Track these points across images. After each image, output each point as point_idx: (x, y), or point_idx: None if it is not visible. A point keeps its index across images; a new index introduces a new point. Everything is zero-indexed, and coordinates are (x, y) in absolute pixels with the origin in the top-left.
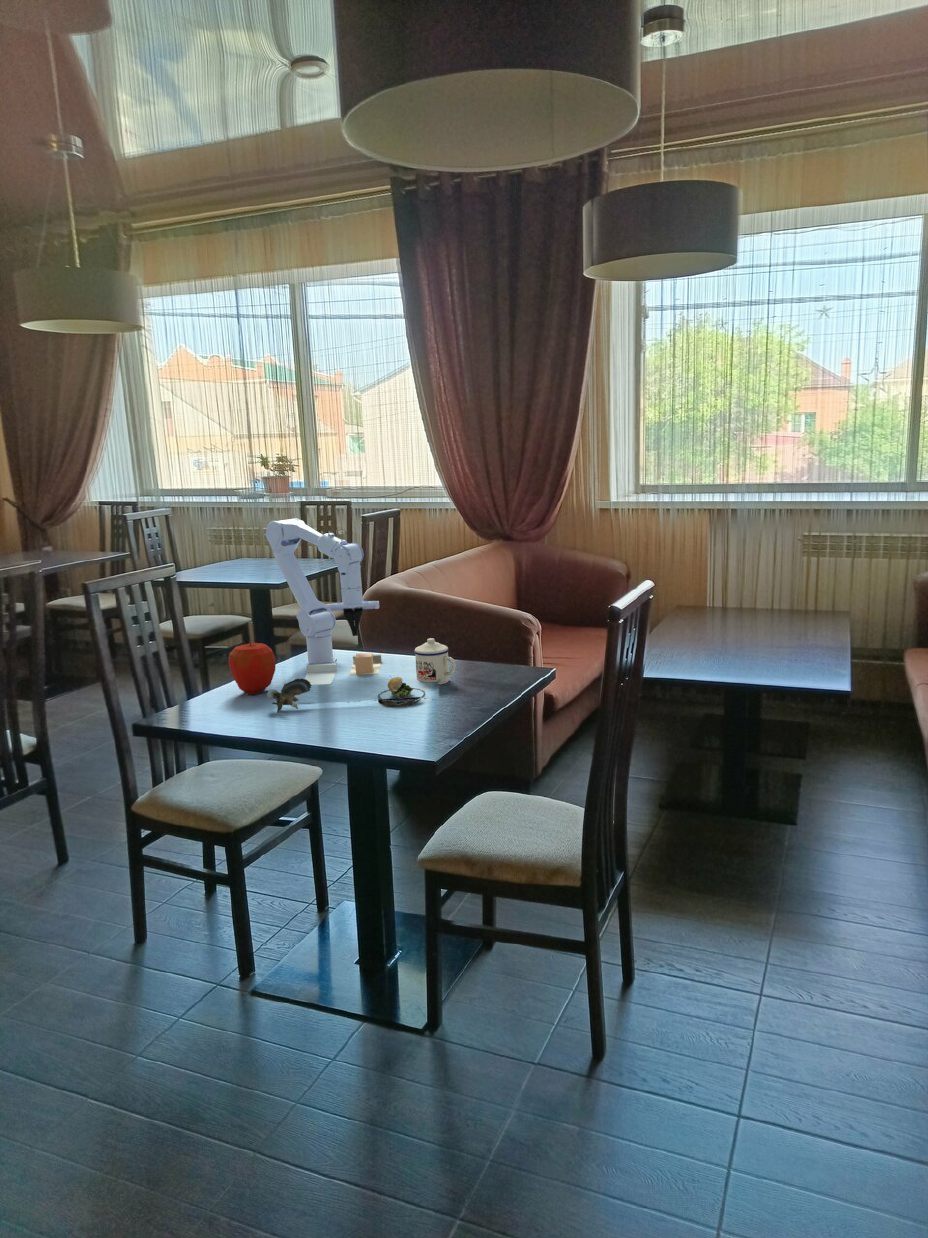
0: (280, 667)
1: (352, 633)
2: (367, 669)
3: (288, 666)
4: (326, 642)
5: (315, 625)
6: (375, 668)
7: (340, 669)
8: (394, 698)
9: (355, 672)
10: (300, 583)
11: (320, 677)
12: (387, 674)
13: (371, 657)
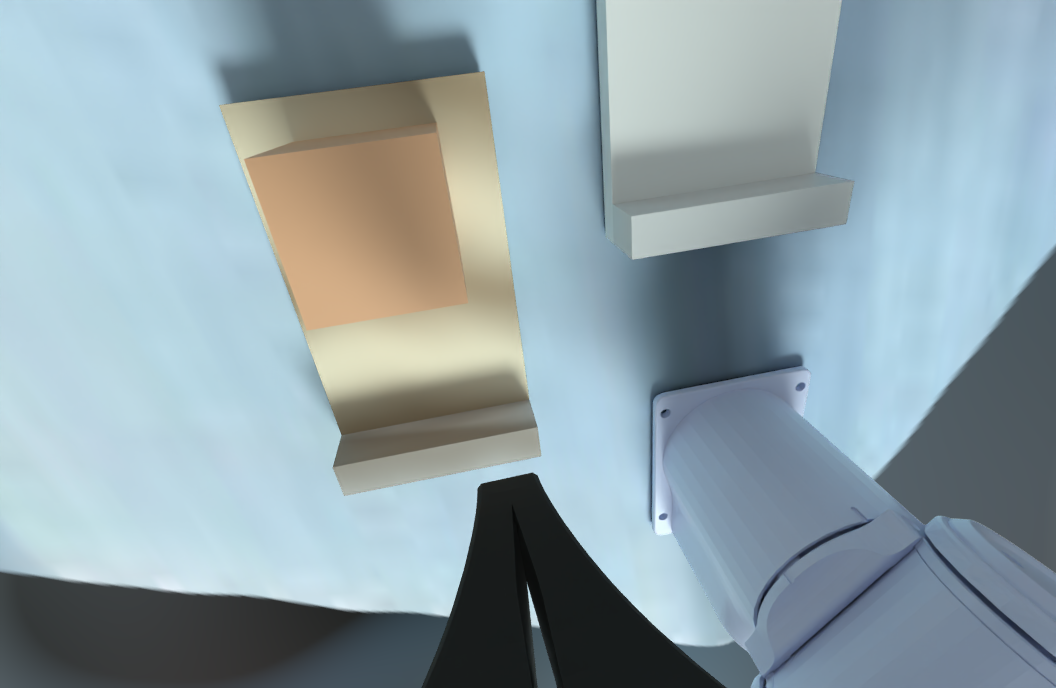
0: (926, 390)
1: (540, 490)
2: (329, 139)
3: (886, 408)
4: (764, 518)
5: (997, 602)
6: None
7: (600, 351)
8: None
9: (451, 161)
10: None
11: (718, 11)
12: (204, 212)
13: (255, 176)
